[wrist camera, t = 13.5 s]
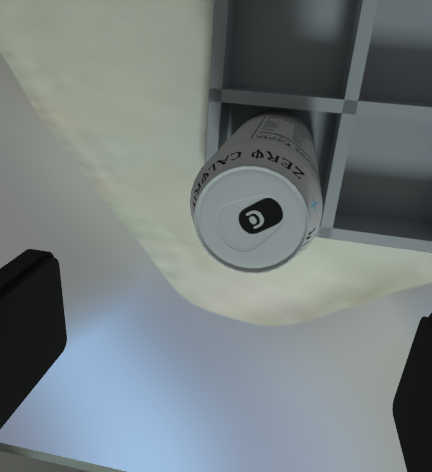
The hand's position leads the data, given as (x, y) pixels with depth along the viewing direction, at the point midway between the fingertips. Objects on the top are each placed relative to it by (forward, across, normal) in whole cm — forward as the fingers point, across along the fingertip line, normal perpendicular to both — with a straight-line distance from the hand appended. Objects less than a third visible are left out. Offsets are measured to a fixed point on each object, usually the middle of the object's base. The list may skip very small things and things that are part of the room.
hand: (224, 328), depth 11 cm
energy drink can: (+22, 0, 0) cm, 22 cm away
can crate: (+23, -4, -4) cm, 23 cm away
